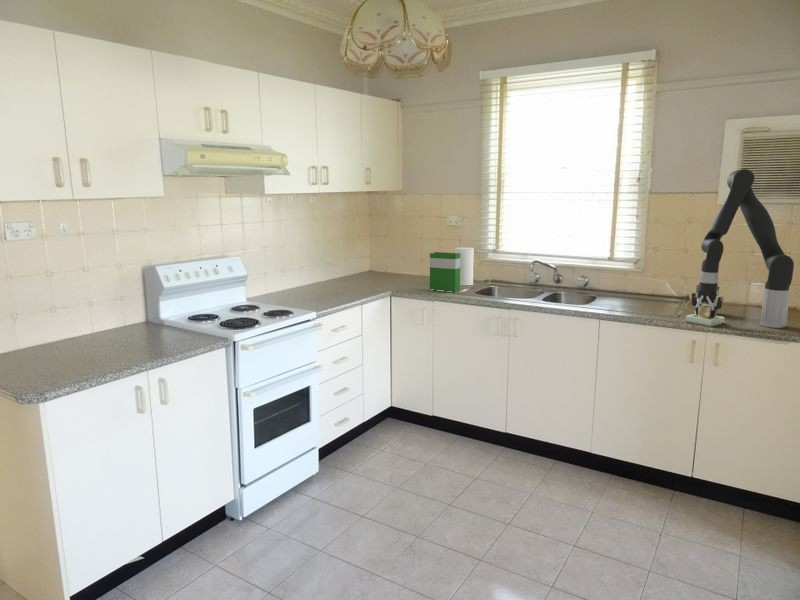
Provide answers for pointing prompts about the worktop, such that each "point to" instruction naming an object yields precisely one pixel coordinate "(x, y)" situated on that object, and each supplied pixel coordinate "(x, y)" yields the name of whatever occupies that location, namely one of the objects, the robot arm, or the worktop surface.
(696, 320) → the tray
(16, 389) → the worktop surface
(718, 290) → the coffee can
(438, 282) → the green cereal box
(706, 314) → the maple block
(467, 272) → the cylinder
